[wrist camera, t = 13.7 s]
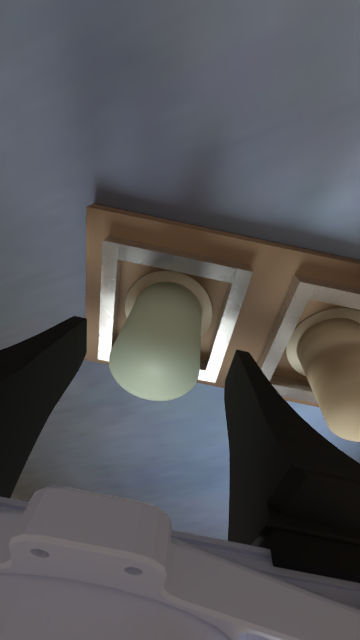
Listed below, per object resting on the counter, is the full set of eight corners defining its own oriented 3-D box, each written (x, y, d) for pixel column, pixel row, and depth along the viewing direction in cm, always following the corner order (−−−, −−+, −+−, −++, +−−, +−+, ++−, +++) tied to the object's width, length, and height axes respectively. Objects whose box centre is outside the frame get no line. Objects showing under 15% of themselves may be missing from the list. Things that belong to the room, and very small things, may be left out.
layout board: (360, 405, 20) (374, 428, 18) (90, 351, 20) (79, 369, 18) (455, 280, 15) (487, 296, 13) (93, 203, 15) (78, 209, 13)
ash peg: (345, 378, 18) (389, 449, 13) (285, 364, 18) (310, 431, 13) (383, 327, 16) (448, 392, 11) (315, 310, 15) (356, 370, 11)
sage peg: (193, 346, 17) (189, 407, 13) (131, 333, 17) (106, 391, 13) (209, 289, 15) (209, 340, 11) (138, 274, 15) (111, 319, 11)
